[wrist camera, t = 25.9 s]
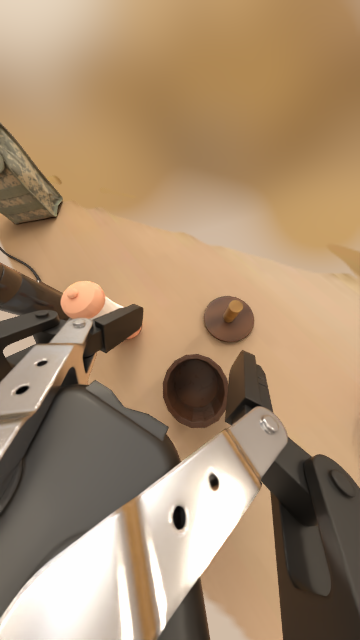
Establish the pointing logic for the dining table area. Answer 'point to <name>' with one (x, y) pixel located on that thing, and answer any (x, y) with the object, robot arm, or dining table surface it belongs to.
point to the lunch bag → (23, 184)
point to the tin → (195, 391)
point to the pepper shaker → (87, 302)
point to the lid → (228, 318)
